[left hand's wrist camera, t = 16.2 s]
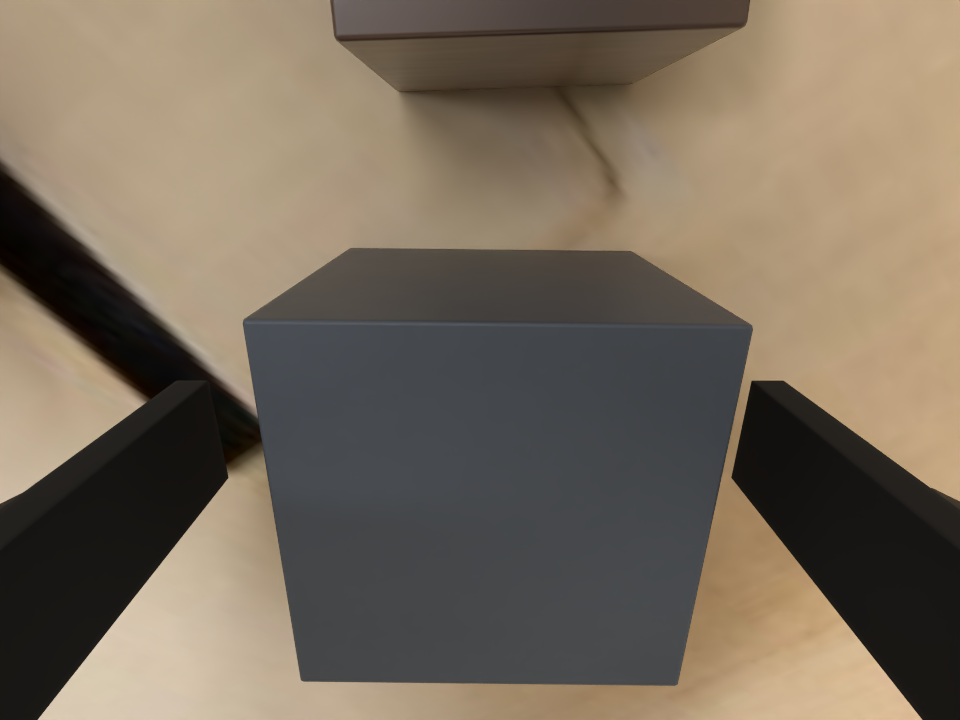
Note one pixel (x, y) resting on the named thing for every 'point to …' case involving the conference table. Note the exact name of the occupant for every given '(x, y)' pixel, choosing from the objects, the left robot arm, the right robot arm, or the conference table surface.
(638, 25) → the long brown block
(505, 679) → the grey block
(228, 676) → the conference table surface
